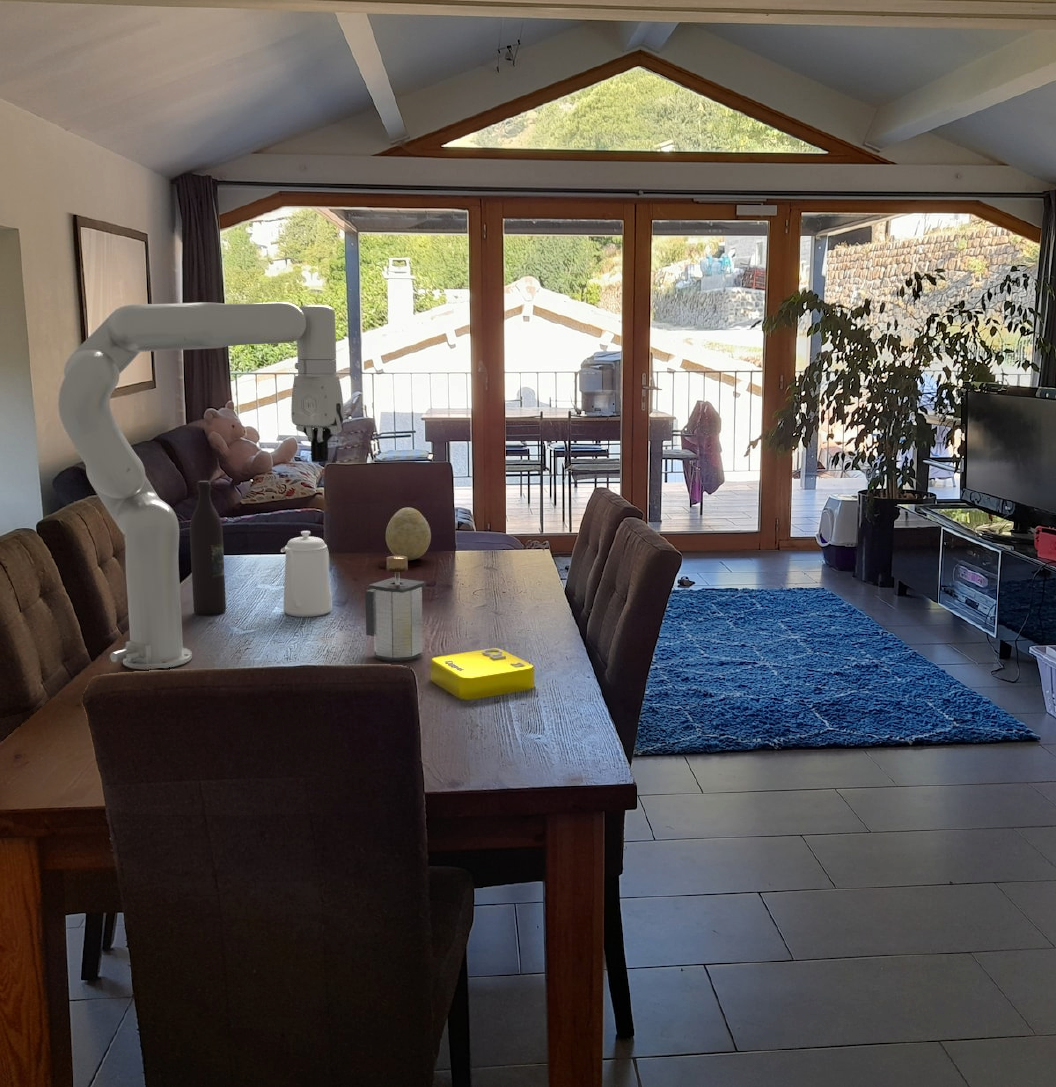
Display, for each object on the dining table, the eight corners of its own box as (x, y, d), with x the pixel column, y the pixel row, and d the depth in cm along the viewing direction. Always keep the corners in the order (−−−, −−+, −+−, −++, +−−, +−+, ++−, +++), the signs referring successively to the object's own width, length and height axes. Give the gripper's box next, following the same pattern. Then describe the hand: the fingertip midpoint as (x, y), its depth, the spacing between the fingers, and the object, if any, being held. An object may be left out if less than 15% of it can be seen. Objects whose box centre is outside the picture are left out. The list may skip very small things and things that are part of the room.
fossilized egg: (414, 553, 316) (414, 502, 313) (439, 560, 306) (439, 508, 303) (377, 558, 308) (376, 506, 305) (402, 566, 298) (401, 512, 296)
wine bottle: (216, 617, 242) (210, 483, 236) (187, 615, 243) (181, 482, 238) (231, 609, 249) (226, 479, 243) (203, 608, 250) (197, 478, 244)
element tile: (426, 680, 199) (426, 655, 198) (498, 668, 207) (498, 644, 206) (463, 703, 187) (463, 676, 186) (538, 690, 194) (538, 664, 193)
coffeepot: (260, 625, 235) (257, 540, 232) (306, 598, 260) (304, 521, 256) (307, 628, 233) (305, 542, 230) (349, 601, 257) (347, 523, 254)
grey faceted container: (404, 665, 207) (403, 590, 204) (355, 656, 212) (353, 583, 210) (430, 653, 215) (430, 581, 212) (383, 645, 220) (382, 575, 218)
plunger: (402, 636, 208) (401, 562, 205) (374, 631, 211) (372, 558, 208) (421, 628, 213) (420, 556, 211) (394, 624, 217) (393, 553, 214)
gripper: (275, 368, 214) (278, 461, 218) (335, 370, 207) (337, 465, 211) (300, 367, 221) (302, 457, 224) (359, 369, 214) (361, 461, 217)
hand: (319, 461), depth 217 cm, fingers closed
